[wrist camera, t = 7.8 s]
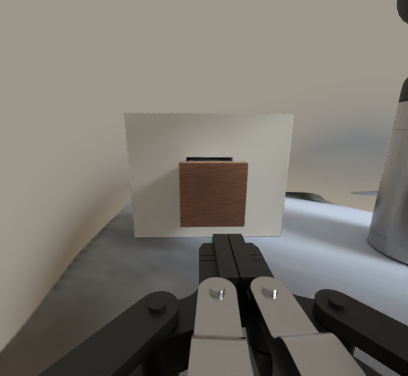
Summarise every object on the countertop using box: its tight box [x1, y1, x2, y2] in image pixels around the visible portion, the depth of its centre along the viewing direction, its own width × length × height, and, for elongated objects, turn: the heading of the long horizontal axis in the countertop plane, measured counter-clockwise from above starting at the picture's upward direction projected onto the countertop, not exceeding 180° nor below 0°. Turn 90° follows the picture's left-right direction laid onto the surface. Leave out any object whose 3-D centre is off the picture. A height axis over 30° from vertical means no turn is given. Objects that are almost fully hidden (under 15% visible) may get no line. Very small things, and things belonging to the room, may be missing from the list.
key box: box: [124, 113, 294, 238], centre depth 31 cm, size 20×8×16 cm, turn 92°
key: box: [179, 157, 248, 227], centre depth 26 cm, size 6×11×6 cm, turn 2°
